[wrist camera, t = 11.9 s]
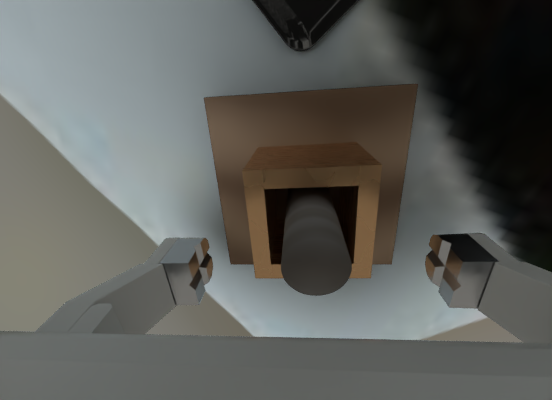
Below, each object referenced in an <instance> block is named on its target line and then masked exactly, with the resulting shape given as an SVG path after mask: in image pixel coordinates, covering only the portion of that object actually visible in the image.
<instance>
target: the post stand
mask: <svg viewBox="0 0 552 400" xmlns="http://www.w3.org/2000/svg"><path fill="white" fill-rule="evenodd" d="M417 88H418V84H403V85H388V86H372V87H357V88H342V89H326V90H311V91H296V92H280V93H265V94H250V95H234V96H219V97H206V98H204V101H205V108H206V114H207V120H208V126H209V133H210V139H211V145H212V151H213V157H214V164H215V170H216V176H217V182H218V188H219V195H220V201H221V207H222V213H223V219H224V226H225V232H226V238H227V244H228V251H229V257H230V263H231V264H254V262H253V254H252V246H251V238H250V230H249V222H248V214H247V207H246V199H245V191H244V183H243V175H242V170H243V169H244V167H245V166H246V164H247V163H248V161H249V160H250V158H251V157H252V155H253V154H254V153H255V151H256V150H257V148H258V147H273V146H292V145H311V144H330V143H349V142H357V143H358V144H359V145H361V146H362V147H363V148H364V149H365V150H366V151H367V152H368V153H369V154H371V155H372V156H373V157H374V158H375V159H376V160H377V161H378V162H379V163H381V164H382V170H381V180H380V190H379V200H378V210H377V220H376V230H375V240H374V250H373V260H372V264H392V258H393V251H394V244H395V237H396V231H397V224H398V217H399V210H400V204H401V197H402V190H403V183H404V176H405V170H406V163H407V156H408V149H409V142H410V136H411V129H412V122H413V115H414V108H415V102H416V95H417ZM339 200H340V186H337V187H309V188H281V189H276V202H277V216H278V219H285V227H284V238H283V248H282V259H281V272H282V276H283V278H284V280H285V281H286V282H287V284H288V285H289V286H290V287H292V288H293V289H295V290H296V291H298V292H300V293H303V294H307V295H315V296H317V295H326V294H329V293H332V292H334V291H336V290H338V289H340V288H341V287H342V286H343V285H344V284H345V283H346V282H347V281H348V279H349V277H350V275H351V271H352V263H351V259H350V256H349V253H348V250H347V246H346V243H345V240H344V237H343V233H342V230H341V227H340V224H339V221H338V218H339Z"/></svg>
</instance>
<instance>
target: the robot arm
mask: <svg viewBox="0 0 552 400" xmlns="http://www.w3.org/2000/svg"><path fill="white" fill-rule="evenodd" d="M429 246H430V247H431V249H432V251H431V252H430V253H429V254H428V255H427V256H426V261H425V266H426V272H427V275H428V277H429V279H430V280H431V282H433V283H434V284H436V285H438V286H439V291H438V292H439V293H440V295H441V296H442V298H443V299H444V301H445V302H446V304H447V305H448V307H449V308H477V309H478V310H479V311H480V312H482V313H483V314H484V315H486V316H487V317H489V318H490V319H492V320H493V321H494V322H496V323H497V324H499V325H500V326H501V327H503V328H504V329H506V330H507V331H509V332H510V333H511V334H513V335H514V336H516V337H517V338H518V339H520V340H521V341H523V342H524V343H514V342H511V343H510V342H469V341H427V340H386V339H339V338H292V337H244V336H243V337H242V336H198V335H154V334H145V333H146V332H147V331H149V330H150V329H151V328H152V327H153V326H154V325H155V324H156V323H158V322H159V321H160V320H161V319H162V318H163V317H164V316H166V314H168V313H169V312H170V311H171V310H172V309H173V308H175V307H176V305H199V304H200V301H201V299H202V297H203V295H204V292H205V287H204V285H205V284H207V283H208V282H209V281H210V279H211V276H212V270H213V262H212V257H211V256H210V255H209V254H208V253H207V251H208V249H209V244H208V240H207V239H206V238H166V239H165V240H164V241H163V242H162V243H161V244H160V246H159V247H158V248H157V249H156V250H155V252H154V253H153V254H152V255H151V256H150V257H149V259H148V260H147V261H146V262H145V263H144V264H139V265H137V266H135V267H133V268H131V269H129V270H127V271H126V272H123V273H121V274H119V275H117V276H116V277H114V278H112V279H110V280H108V281H106V282H104V283H102V284H101V285H98V286H96V287H94V288H92V289H90V290H88V291H87V292H85V293H83V294H81V295H79V296H77V297H75V298H73V299H71V300H69V301H67V302H66V303H65V304H63V306H61V307H60V308H59V309H58V310H57V311H56V312H55V313H54V314H53V315H52V316H51V317H50V318H49V319H48V320H47V321H46V322H45V323H44V324H42V325H41V326H40V327H39V328H38V329H37V330H36V331H35V332H23V331H22V332H21V331H0V400H552V272H549V271H546V270H544V269H541V268H539V267H536V266H534V265H531V264H528V263H526V262H519V261H517V260H516V259H515V258H514V257H512V256H511V255H510V254H509V253H507V252H506V251H505V250H504V249H502V248H501V247H500V246H499V245H497V244H496V243H495V242H494V241H492V240H491V239H490V238H489V237H487V236H486V235H485V234H482V233H467V234H444V235H433V236H432V237H431V239H430V242H429Z"/></svg>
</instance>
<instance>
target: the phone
mask: <svg viewBox="0 0 552 400" xmlns="http://www.w3.org/2000/svg"><path fill="white" fill-rule="evenodd" d="M358 1H359V0H253V2H254V3H255V4H256V5H257V7H258V8H259V9H260V11H261V12H262V13H263V14H264V16H265V17H266V18H267V20H268V21H269V22H270V23H271V25H272V26H273V27H274V29H275V30H276V31H277V32H278V34H279V35H280V36H281V38H282V39H283V40H284V42H285V43H286V44H287V45H288V46H289V47H290V48H292V49H294V50H296V51H305V50H308V49H310V48H311V47H313V46H314V45H315V44H316V43H317V42H318V41H319V40H320V39H321V38H322V37H323V36H324V35H325V34H326V33H327V32H328V31H329V30H330V29H331V28H332V27H333V26H334V25H335V24H336V23H337V22H338V21H339V20H340V19H341V18H342V17H343V16H344V15H345V14H346V13H347V12H348V11H349V10H350V9H351V8H352V7H353V6H354V5H355V4H356V3H357V2H358Z"/></svg>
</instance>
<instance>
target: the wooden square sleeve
mask: <svg viewBox="0 0 552 400" xmlns="http://www.w3.org/2000/svg"><path fill="white" fill-rule="evenodd" d="M381 170H382V164H381V163H379V162H378V161H377V160H376V159H375V158H374V157H373V156H372V155H371V154H369V153H368V152H367V151H366V150H365V149H364V148H363V147H362V146H361V145H359V144H358V143H357V142H349V143H330V144H311V145H292V146H273V147H258V148H257V150H256V151H255V153H254V154H253V155H252V157H251V158H250V160H249V161H248V163H247V164H246V166H245V167H244V169H243V170H242V175H243V183H244V191H245V199H246V207H247V214H248V222H249V230H250V238H251V246H252V254H253V262H254V270H255V278H283V276H282V272H281V259H282V248H283V238H284V227H285V219H278V216H277V202H276V189H281V188H309V187H337V186H340V200H339V218H338V221H339V224H340V227H341V230H342V233H343V237H344V240H345V243H346V246H347V250H348V253H349V256H350V259H351V263H352V271H351V275H350V277H349V278H371V270H372V260H373V250H374V240H375V230H376V220H377V210H378V200H379V190H380V180H381Z"/></svg>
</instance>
